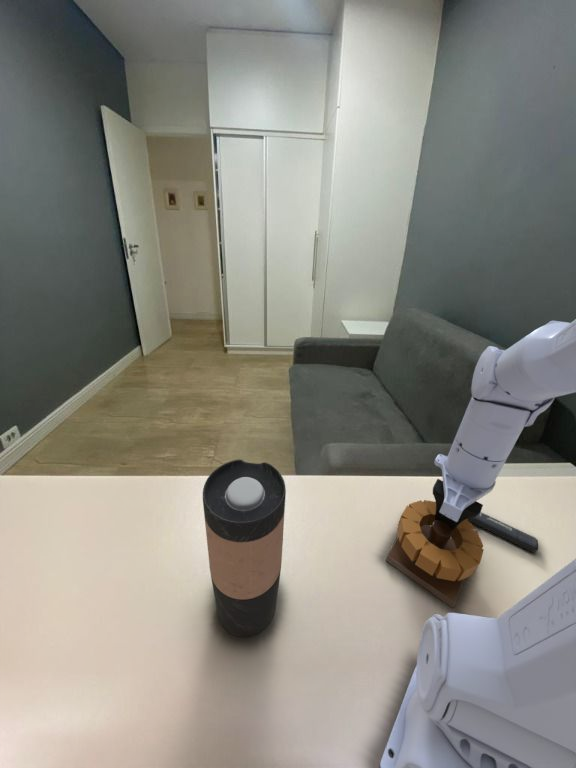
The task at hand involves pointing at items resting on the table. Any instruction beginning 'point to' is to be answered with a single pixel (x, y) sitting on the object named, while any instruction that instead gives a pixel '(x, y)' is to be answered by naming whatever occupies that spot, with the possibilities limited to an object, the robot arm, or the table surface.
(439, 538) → the post stand
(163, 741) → the table surface
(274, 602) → the travel mug
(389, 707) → the table surface
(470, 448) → the robot arm
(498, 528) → the usb stick
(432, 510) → the notched ring
